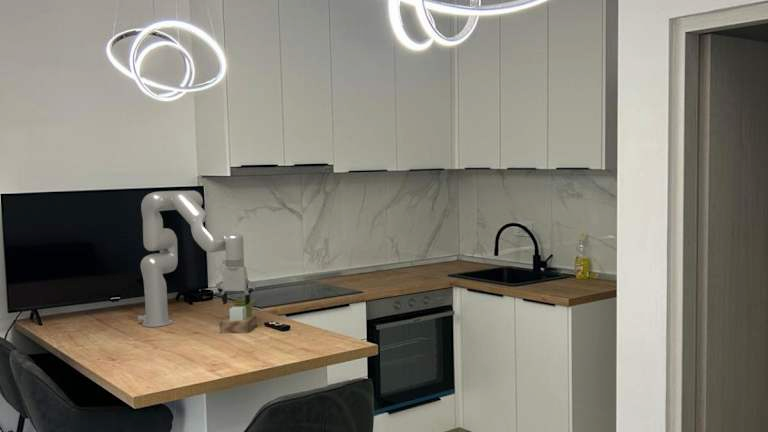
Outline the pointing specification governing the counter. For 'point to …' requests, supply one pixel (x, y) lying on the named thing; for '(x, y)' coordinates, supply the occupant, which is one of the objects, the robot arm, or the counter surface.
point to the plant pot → (248, 306)
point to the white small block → (238, 313)
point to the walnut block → (238, 325)
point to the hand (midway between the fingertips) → (236, 303)
